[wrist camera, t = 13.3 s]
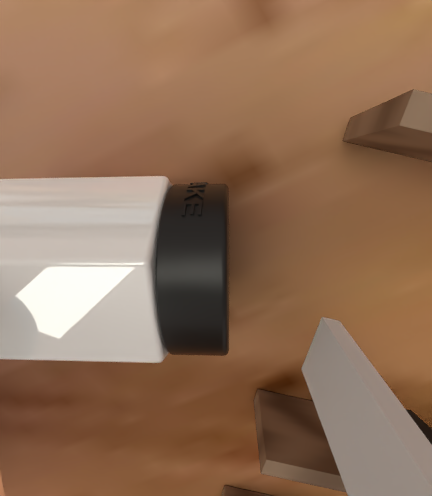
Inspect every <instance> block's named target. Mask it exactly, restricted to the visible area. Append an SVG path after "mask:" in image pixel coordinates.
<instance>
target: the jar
mask: <svg viewBox="0 0 432 496" xmlns="http://www.w3.org/2000/svg"><path fill="white" fill-rule="evenodd" d="M228 351H229V191H228V187H227V185H225V184H208V183H190V185H172V184H171V182H170V181H169V179H168V178H167V177H166V176H130V177H76V178H21V179H0V359H11V360H53V361H96V362H138V363H160V362H162V361H163V360H164V359H165V357H166V356H167V355H168V354H169V353H170V354H174V355H219V356H224V355H226V354H227V353H228Z"/></svg>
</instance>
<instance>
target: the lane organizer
mask: <svg viewBox="0 0 432 496" xmlns="http://www.w3.org/2000/svg"><path fill="white" fill-rule="evenodd" d="M343 141H345V142H349V143H353V144H357V145H362V146H366V147H370V148H375V149H379V150H383V151H387V152H392V153H396V154H400V155H405V156H409V157H413V158H417V159H422V160H426V161H430V162H432V94H431V93H427V92H423V91H418V90H414V89H413V90H411V91H409V92H407V93H404V94H402V95H400V96H398V97H396V98H393V99H391V100H389V101H387V102H384V103H382V104H380V105H378V106H376V107H373V108H371V109H369V110H367V111H365V112H362V113H360V114H358V115H356V116H353V117H351V118H350V121H349V124H348V127H347V130H346V133H345V135H344V138H343ZM254 410H255V420H256V430H257V440H258V450H259V460H260V470H261V474H265V475H269V476H274V477H279V478H283V479H288V480H292V481H297V482H301V483H306V484H310V485H315V486H319V487H324V488H329V489H333V490H338V491H342V492H346V489H345V486H344V484H343V481H342V478H341V475H340V473H339V470H338V467H337V465H336V462H335V459H334V456H333V454H332V451H331V448H330V445H329V443H328V440H327V437H326V435H325V432H324V429H323V426H322V424H321V421H320V418H319V416H318V413H317V410H316V407H315V405H314V402H313V401H310V400H305V399H301V398H296V397H292V396H287V395H283V394H278V393H274V392H269V391H265V390H260V389H257V392H256V395H255V398H254ZM431 429H432V428H431ZM222 496H271V495H267V494H262V493H257V492H253V491H248V490H244V489H239V488H235V487H230V486H224V489H223V492H222Z"/></svg>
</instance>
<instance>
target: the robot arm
mask: <svg viewBox="0 0 432 496" xmlns="http://www.w3.org/2000/svg"><path fill="white" fill-rule="evenodd" d="M302 372H303V375H304V378H305V380H306V383H307V386H308V388H309V391H310V394H311V397H312V399H313V402H314V405H315V407H316V410H317V413H318V416H319V418H320V421H321V424H322V426H323V429H324V432H325V435H326V437H327V440H328V443H329V445H330V448H331V451H332V454H333V456H334V459H335V462H336V465H337V467H338V470H339V473H340V475H341V478H342V481H343V484H344V486H345V489H346V492H347V494H348V496H432V429H431V428H430V427H429V426H428V425H427V424H425V423H424V422H423V421H422V420H421V419H420V418H419V417H418V416H417V415H416V414H415V413H413V412H412V411H411V410H406V409H405V408H404V407H403V405H402V404H401V403H400V401H399V400H398V399H397V397H396V396H395V395H394V393H393V392H392V391H391V389H390V388H389V387H388V385H387V384H386V383H385V381H384V380H383V379H382V377H381V376H380V375H379V373H378V372H377V371H376V369H375V368H374V366H373V365H372V364H371V362H370V361H369V360H368V358H367V357H366V356H365V354H364V353H363V352H362V350H361V349H360V348H359V346H358V345H357V344H356V342H355V341H354V340H353V338H352V337H351V336H350V334H349V333H348V332H347V330H346V329H345V327H344V326H343V325H342V323H341V322H340V321H338V320H334V319H329V318H325V317H322V318H321V320H320V323H319V325H318V328H317V331H316V333H315V336H314V338H313V341H312V343H311V346H310V348H309V351H308V353H307V356H306V358H305V361H304V364H303V366H302Z"/></svg>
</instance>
